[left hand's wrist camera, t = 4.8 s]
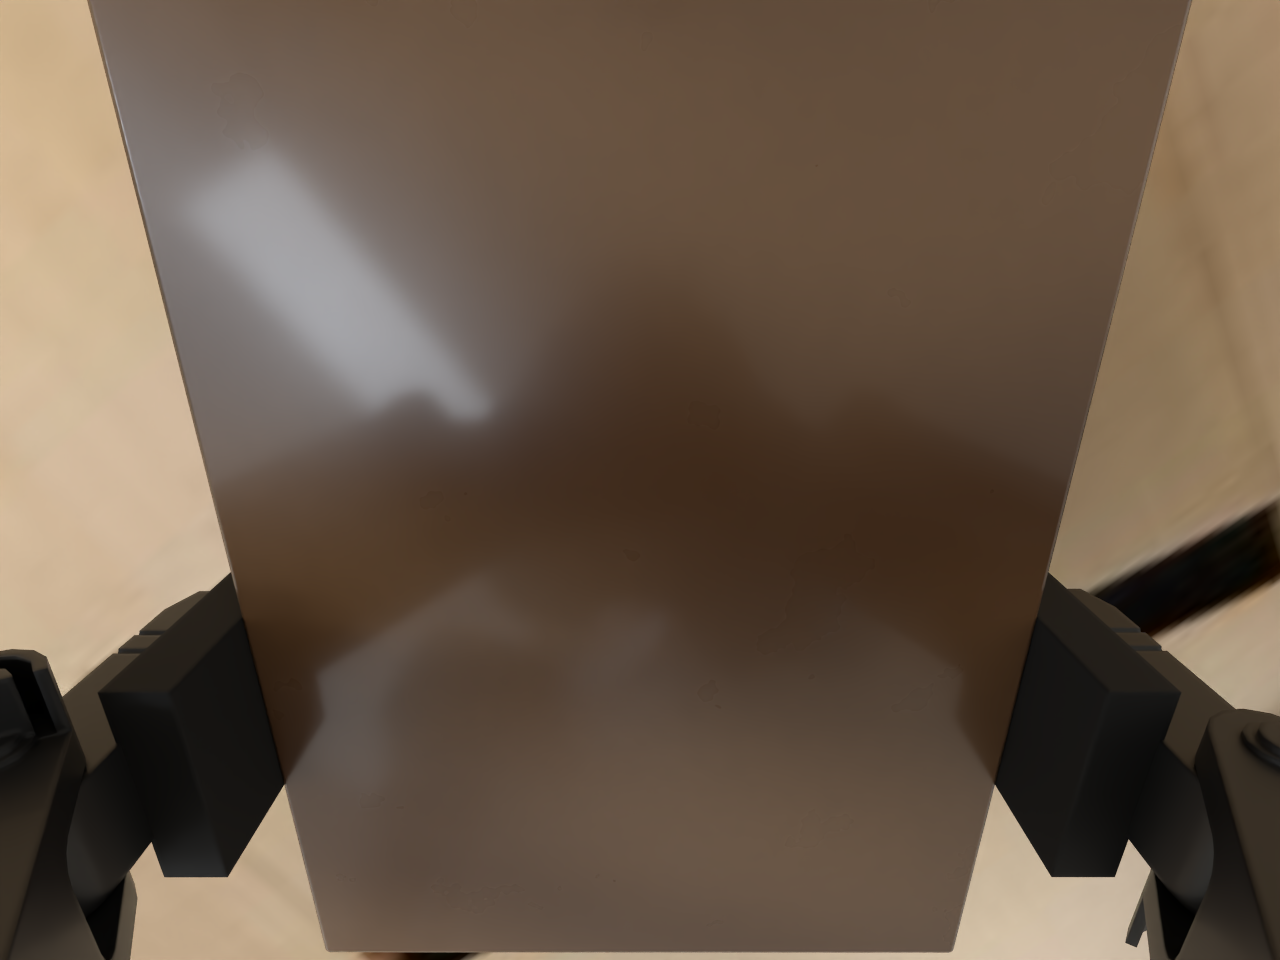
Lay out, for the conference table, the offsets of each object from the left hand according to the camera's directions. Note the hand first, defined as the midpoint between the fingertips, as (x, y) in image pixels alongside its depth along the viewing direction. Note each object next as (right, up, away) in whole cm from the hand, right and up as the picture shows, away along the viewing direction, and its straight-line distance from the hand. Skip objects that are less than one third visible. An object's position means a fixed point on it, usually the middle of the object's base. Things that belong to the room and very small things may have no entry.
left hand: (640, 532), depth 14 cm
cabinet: (0, +5, +2) cm, 6 cm away
